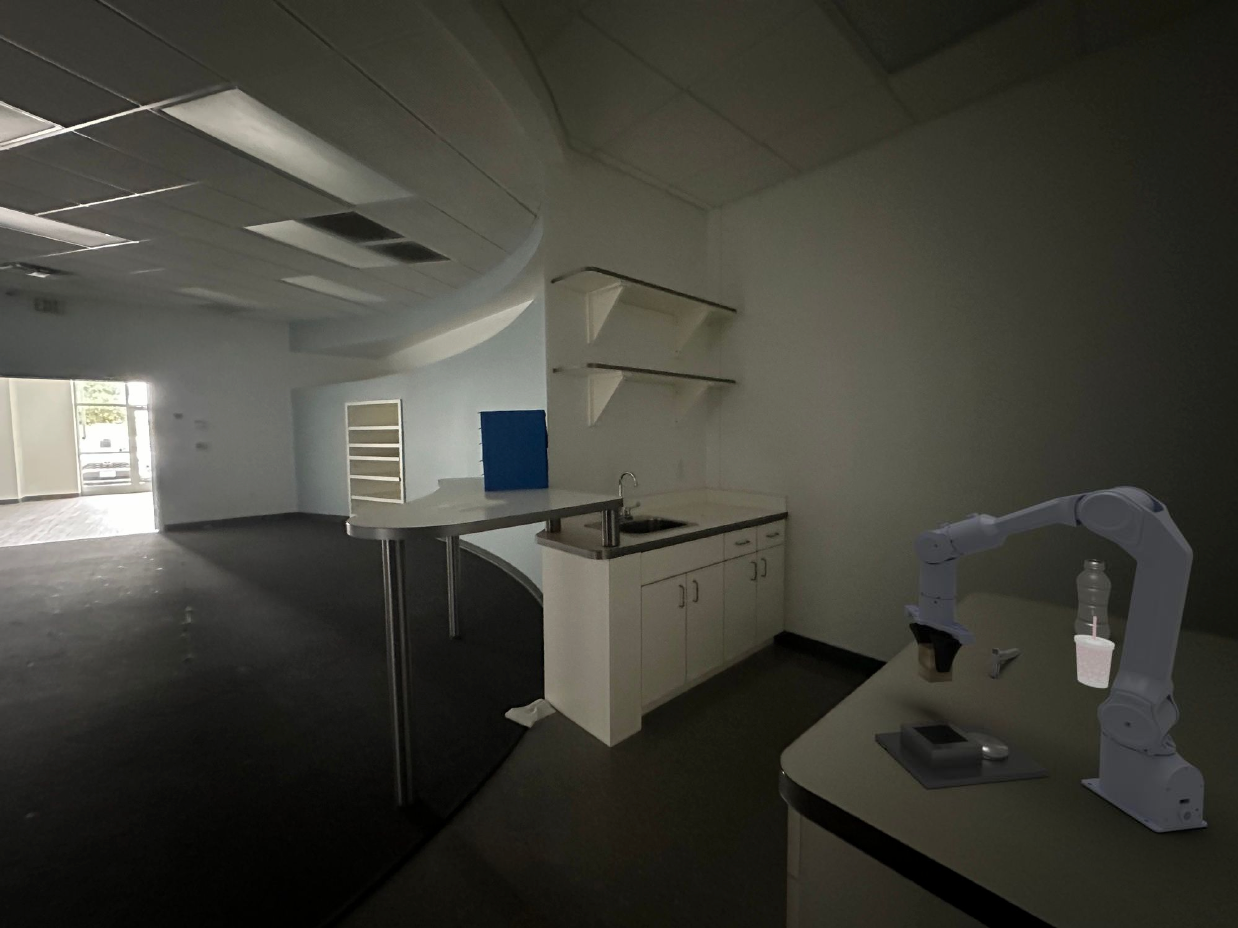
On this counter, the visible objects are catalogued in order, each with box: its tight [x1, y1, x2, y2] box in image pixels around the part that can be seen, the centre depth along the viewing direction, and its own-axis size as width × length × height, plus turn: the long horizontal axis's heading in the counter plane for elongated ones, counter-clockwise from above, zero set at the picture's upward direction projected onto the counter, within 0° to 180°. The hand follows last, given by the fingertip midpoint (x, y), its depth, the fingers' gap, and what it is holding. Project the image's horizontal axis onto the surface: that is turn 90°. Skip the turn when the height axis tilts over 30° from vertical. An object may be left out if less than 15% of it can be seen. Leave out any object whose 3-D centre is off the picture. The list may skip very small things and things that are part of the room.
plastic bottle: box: [1074, 559, 1112, 640], centre depth 124 cm, size 6×7×20 cm
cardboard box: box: [917, 643, 954, 684], centre depth 91 cm, size 3×4×6 cm, turn 97°
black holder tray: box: [874, 719, 1050, 790], centre depth 79 cm, size 12×20×4 cm, turn 97°
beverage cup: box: [1073, 616, 1115, 689], centre depth 103 cm, size 6×6×14 cm
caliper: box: [989, 647, 1022, 679], centre depth 112 cm, size 20×1×6 cm, turn 129°
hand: (935, 666), depth 92 cm, fingers closed on cardboard box, 3 cm apart
